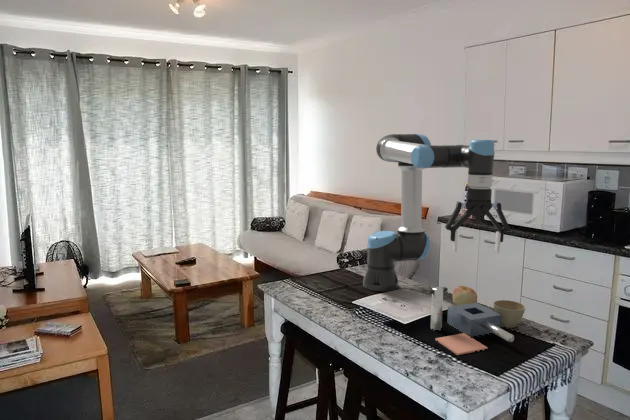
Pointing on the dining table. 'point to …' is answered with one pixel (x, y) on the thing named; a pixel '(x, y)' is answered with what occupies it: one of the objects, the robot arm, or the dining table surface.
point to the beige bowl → (509, 312)
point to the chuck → (476, 321)
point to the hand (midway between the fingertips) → (475, 251)
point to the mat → (461, 344)
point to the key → (436, 306)
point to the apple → (464, 296)
